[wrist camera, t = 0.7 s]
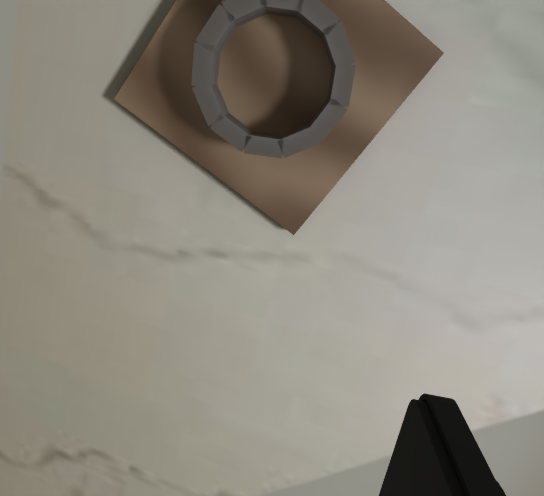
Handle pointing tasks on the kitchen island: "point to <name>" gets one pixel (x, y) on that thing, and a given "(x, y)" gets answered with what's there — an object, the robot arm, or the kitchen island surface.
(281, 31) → the can holder
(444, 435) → the robot arm
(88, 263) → the kitchen island surface
